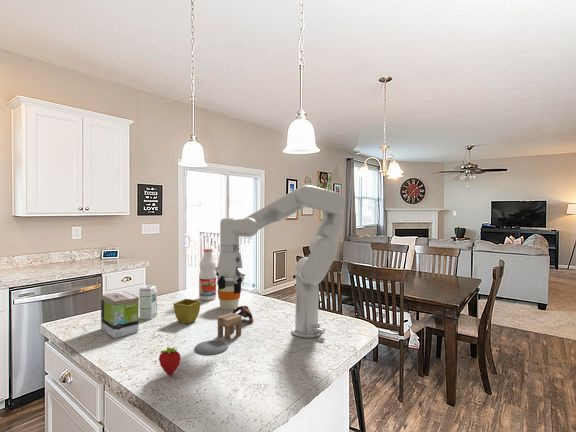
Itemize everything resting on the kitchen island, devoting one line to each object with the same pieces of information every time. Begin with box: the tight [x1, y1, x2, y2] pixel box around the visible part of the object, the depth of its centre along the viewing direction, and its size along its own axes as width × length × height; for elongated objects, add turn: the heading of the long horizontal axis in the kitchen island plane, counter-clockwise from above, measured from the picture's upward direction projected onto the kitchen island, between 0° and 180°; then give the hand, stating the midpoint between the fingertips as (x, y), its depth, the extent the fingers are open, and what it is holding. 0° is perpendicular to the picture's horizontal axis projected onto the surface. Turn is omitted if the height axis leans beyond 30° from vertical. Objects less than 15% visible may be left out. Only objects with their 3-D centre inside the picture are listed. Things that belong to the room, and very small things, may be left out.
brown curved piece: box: [231, 305, 254, 325], centre depth 153 cm, size 12×10×8 cm
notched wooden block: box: [217, 312, 243, 341], centre depth 135 cm, size 6×8×8 cm
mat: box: [194, 339, 229, 356], centre depth 124 cm, size 12×12×1 cm
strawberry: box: [158, 344, 182, 377], centre depth 103 cm, size 6×8×10 cm
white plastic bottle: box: [198, 248, 217, 302], centre depth 189 cm, size 9×9×28 cm
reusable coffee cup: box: [216, 277, 243, 310], centre depth 174 cm, size 13×13×15 cm
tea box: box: [100, 291, 140, 339], centre depth 139 cm, size 15×10×15 cm
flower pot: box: [173, 298, 202, 324], centre depth 151 cm, size 9×9×9 cm
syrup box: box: [138, 284, 158, 320], centre depth 156 cm, size 6×6×14 cm
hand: (229, 290), depth 135 cm, fingers open, 9 cm apart
